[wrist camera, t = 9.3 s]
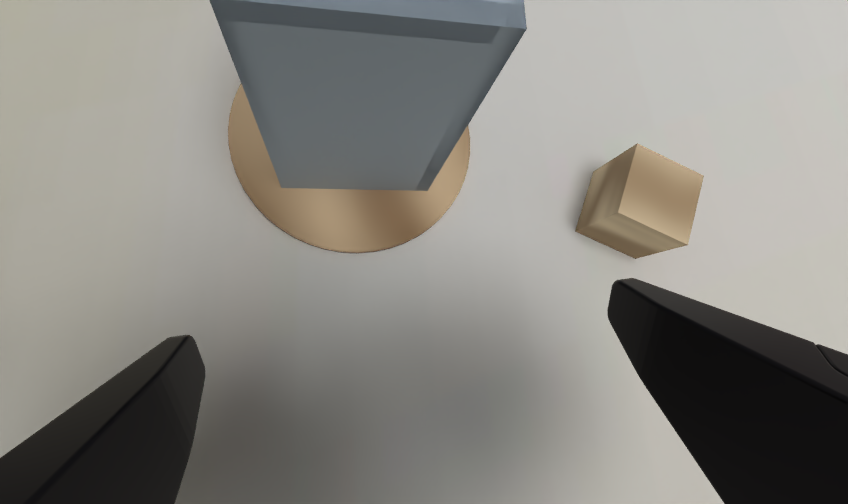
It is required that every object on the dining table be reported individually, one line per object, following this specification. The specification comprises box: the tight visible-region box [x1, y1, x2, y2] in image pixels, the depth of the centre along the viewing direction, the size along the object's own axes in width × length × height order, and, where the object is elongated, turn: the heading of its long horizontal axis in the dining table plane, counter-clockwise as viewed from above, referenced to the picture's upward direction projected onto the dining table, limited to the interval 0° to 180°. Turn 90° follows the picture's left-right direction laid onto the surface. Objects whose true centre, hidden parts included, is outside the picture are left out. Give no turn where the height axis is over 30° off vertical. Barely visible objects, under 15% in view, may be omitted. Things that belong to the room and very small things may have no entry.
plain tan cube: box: [575, 144, 704, 259], centre depth 21 cm, size 4×4×4 cm
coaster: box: [228, 84, 470, 253], centre depth 20 cm, size 11×11×1 cm
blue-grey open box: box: [210, 0, 527, 191], centre depth 15 cm, size 6×6×11 cm
